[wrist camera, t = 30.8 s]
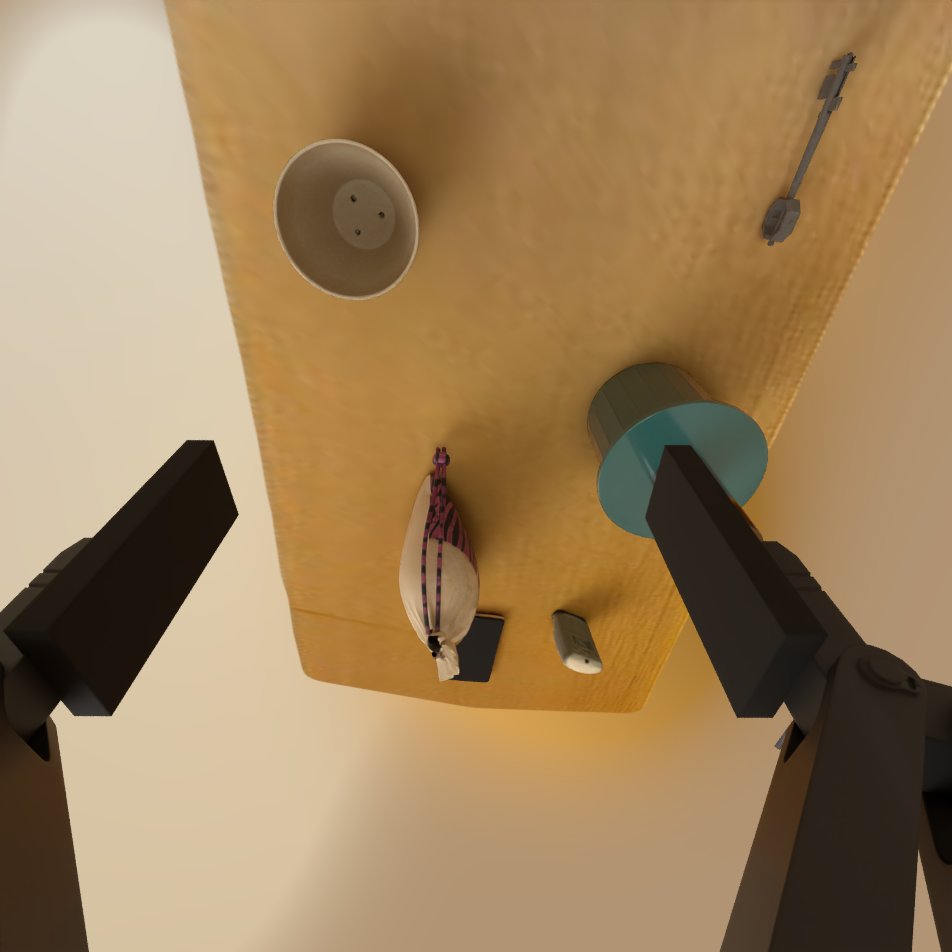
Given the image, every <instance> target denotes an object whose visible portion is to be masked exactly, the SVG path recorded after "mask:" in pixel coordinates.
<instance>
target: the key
mask: <svg viewBox="0 0 952 952" xmlns="http://www.w3.org/2000/svg"><path fill="white" fill-rule="evenodd" d="M855 58H856V56H854V57H853V53H852V52H850V53H848V55H844V56H843V59H842V60H837V61H833V62H832V64H831V66H830V68H831V69H834V68H837V67H839V68H838V71H837V73H836V74H835V75H829V76H826V78H825V81H824V83H823V86H822V88H821V91H820V93H819V95H818V98H817V99H825V98H826V101H825V103H824V105H823V108H822V110H821V112H820V113H819V115H818V120H817V123H816V125H815V128H814V130H813V133H812V135H811V138H810V140H809V143H808V145H807V147H806V150H805V152H804V155H803V157H802V160H801V162H800V165H799V167H798V170H797V172H796V175H795V177H794V180H793V182H792V184H791V187H790V190H789V192H788V195H787V197H786V198H783V197H780V198H779V199H778V200H777V201H776V202H775V203H774V204H773V205H772V206H771V207H770V209H769V212H768V214H767V217H766V219H765V222H764V224H763V238H764V239H767V240H770V241H769V242H768V245H769V246H773V244H774V241H775V242H782V241H783V240H784V239H786V238H787V237H788V236H789V235H790V234H791V233H792V231H793V229H794V227H795V224H796V222H797V220H798V218H799V215H800V201H799V200H796V199H794V197H795V194H796V192H797V190H798V188H799V186H800V184H801V181H802V179H803V177H804V174H805V172H806V170H807V167H808V165H809V163H810V161H811V158H812V156H813V154H814V152H815V149H816V147H817V145H818V142H819V140H820V138H821V136H822V133H823V131H824V129H825V126H826V124H827V122H828V120H829V117H830V115H831V113H832V111H834V110H838V107H839V105H840V103H841V100H842V98H843V97H839V94H840V92H841V90H842V88H843V85H844V83H845V81H846V79H847V76H848V74H849V72H850V71H854V70H855V68H856V66H857V63H854V60H855ZM784 216H785V217H784ZM781 223H782V224H781Z"/></svg>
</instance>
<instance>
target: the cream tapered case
mask: <svg viewBox="0 0 952 952" xmlns="http://www.w3.org/2000/svg"><path fill="white" fill-rule="evenodd" d="M552 619H553V620H554V631H553V637H554V640H555V645H556V648H557V651H558V653H559V655H560V657H561V659H562V662H563V663H564V665H565V666H567V667H568V668H570V669H572V670H575V671H577V672H581V673H588V674H595V673H599V672H600V671H601V670H602V668H603V666H602V662H601V659H600V657H599V654H598V652H597V649H596V647H595V644H594V641H593V638H592V636H591V633H590V630H589V627H588V625H587V623H586V621H585V620H584V619H583V618H581V617H578V616H575V615H573V614H571V613H568V612H565V611H562V610H558V611H556V612H555V613H553V615H552Z"/></svg>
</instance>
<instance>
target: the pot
mask: <svg viewBox="0 0 952 952" xmlns="http://www.w3.org/2000/svg"><path fill="white" fill-rule="evenodd" d="M698 399H704V400H713V399H712V398H711V397H710V396H709V395H708V394H707V392H706V391H705V390H704V389H703V388H702V387H701V386H700V385H699V384H698V383H697V382H696V381H695V380H694V379H693V378H692V377H691V376H690V374H688V373H687V372H685V371H684V370H682V369H680V368H678V367H676V366H673V365H670V364H665V363H645V364H640V365H636V366H633V367H630V368H628V369H626V370H624V371H622V372H620V373H618V374H617V375H615V376H614V377H612V378H611V379H610V380H609V381H608V382H606V383H605V384H604V385H603V387H602V388H601V389H600V390H599V391H598V393H597V394H596V396H595V397H594V399H593V401H592V403H591V406H590V408H589V412H588V418H587V428H588V433H589V438H590V440H591V443H592V445H593V448H594V450H595V453H596V455H597V458H598V460H599V463H601V461H602V459H603V456H604V454H605V453H606V451H607V449H608V448H609V446H610V445H611V443H612V442H613V441H614V440H615V438H616V437H617V436H618V435H619V434H620V433H621V432H622V431H623V430H624V429H625V428H626V427H628V426H629V425H630V424H631V423H632V422H634V421H635V420H637V419H638V418H640V417H641V416H643V415H645V414H647V413H649V412H651V411H653V410H655V409H657V408H660V407H662V406H665V405H668V404H672V403H675V402H680V401H686V400H698Z"/></svg>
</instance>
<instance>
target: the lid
mask: <svg viewBox="0 0 952 952" xmlns="http://www.w3.org/2000/svg"><path fill="white" fill-rule="evenodd" d="M665 445H691V446H692V447H693V449H694V450H695V451H696V453H697V454H698V456H699V457H700V458H701V460H702V461H703V462H704V464H705V465H706V467H707V468H708V469H709V471H710V472H711V473H712V475H713V476H714V478H715V479H716V480H717V482H718V483H719V485H720V486H721V487H722V489H723V490H724V491H725V493H726V494H727V496H728V497H729V498H730V500H731V501H732V502H733V504H734V505H735V507H736V508H737V509H738V511H739V512H740V513H741V515H742V516H743V518H744V519H745V520H746V522H747V523H748V524H749V526H750V527H751V529H752V530H753V531H754V533H755V534H756V535H757V537H758V538H759V540H760V541H763V537H762V535H761V533H760V532H759V531H758V529H757V528H756V527H755V525H754V524H753V522H752V521H751V520H750V518H749V517H748V516H747V514H746V513H745V512H744V510H743V509H742V506H744V505H745V504H746V503H747V502H748V500H749V499H750V498H751V497H752V496H753V494H754V493H755V491H756V490H757V488H758V487H759V485H760V483H761V481H762V479H763V476H764V474H765V471H766V466H767V461H768V448H767V442H766V439H765V436H764V434H763V432H762V430H761V429H760V427H759V426H758V424H757V423H756V422H755V421H754V420H753V419H752V418H751V417H750V416H749V415H748V414H746V413H745V412H744V411H742V410H741V409H739V408H737V407H735V406H733V405H730V404H727V403H725V402H720V401H715V400H704V399H698V400H686V401H680V402H675V403H672V404H668V405H665V406H662V407H660V408H657V409H655V410H653V411H651V412H649V413H647V414H645V415H643V416H641V417H640V418H638V419H637V420H635V421H634V422H632V423H631V424H630V425H629V426H628V427H626V428H625V429H624V430H623V431H622V432H621V433H620V434H619V435H618V436H617V437H616V438H615V440H614V441H613V442H612V443H611V445H610V446H609V448H608V449H607V451H606V453H605V454H604V456H603V459H602V461H601V463H600V466H599V470H598V475H597V492H598V497H599V500H600V503H601V505H602V508H603V510H604V511H605V513H606V514H607V516H608V517H609V518H610V519H611V520H612V521H613V522H614V523H615V524H616V525H617V526H619V527H620V528H622V529H624V530H625V531H627V532H629V533H632V534H634V535H638V536H641V537H645V538H652V539H654V537H653V534H652V532H651V530H650V528H649V526H648V524H647V521H646V519H645V516H646V512H647V508H648V505H649V501H650V497H651V494H652V490H653V486H654V483H655V479H656V475H657V472H658V468H659V465H660V461H661V457H662V454H663V450H664V446H665Z"/></svg>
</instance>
